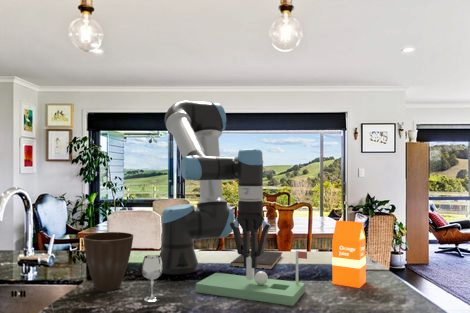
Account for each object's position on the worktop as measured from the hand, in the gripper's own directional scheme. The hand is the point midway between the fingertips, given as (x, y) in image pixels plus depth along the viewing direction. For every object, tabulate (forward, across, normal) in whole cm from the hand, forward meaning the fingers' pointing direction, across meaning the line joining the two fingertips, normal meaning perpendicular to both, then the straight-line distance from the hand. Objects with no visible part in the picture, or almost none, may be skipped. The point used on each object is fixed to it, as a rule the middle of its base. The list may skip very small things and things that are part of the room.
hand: (250, 278), depth 123 cm
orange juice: (+4, +26, +23) cm, 34 cm away
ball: (0, +3, 0) cm, 3 cm away
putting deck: (+4, 0, 0) cm, 4 cm away
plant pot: (+4, -42, -14) cm, 44 cm away
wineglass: (+4, -23, -18) cm, 29 cm away
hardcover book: (+5, -12, +39) cm, 41 cm away
